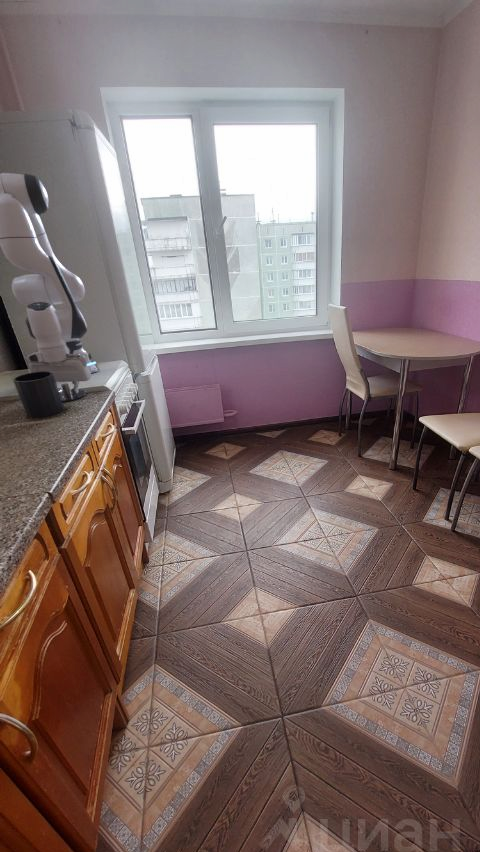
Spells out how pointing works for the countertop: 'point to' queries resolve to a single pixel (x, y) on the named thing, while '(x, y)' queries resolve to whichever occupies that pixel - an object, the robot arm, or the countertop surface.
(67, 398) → the lid
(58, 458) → the countertop surface
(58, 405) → the canister
